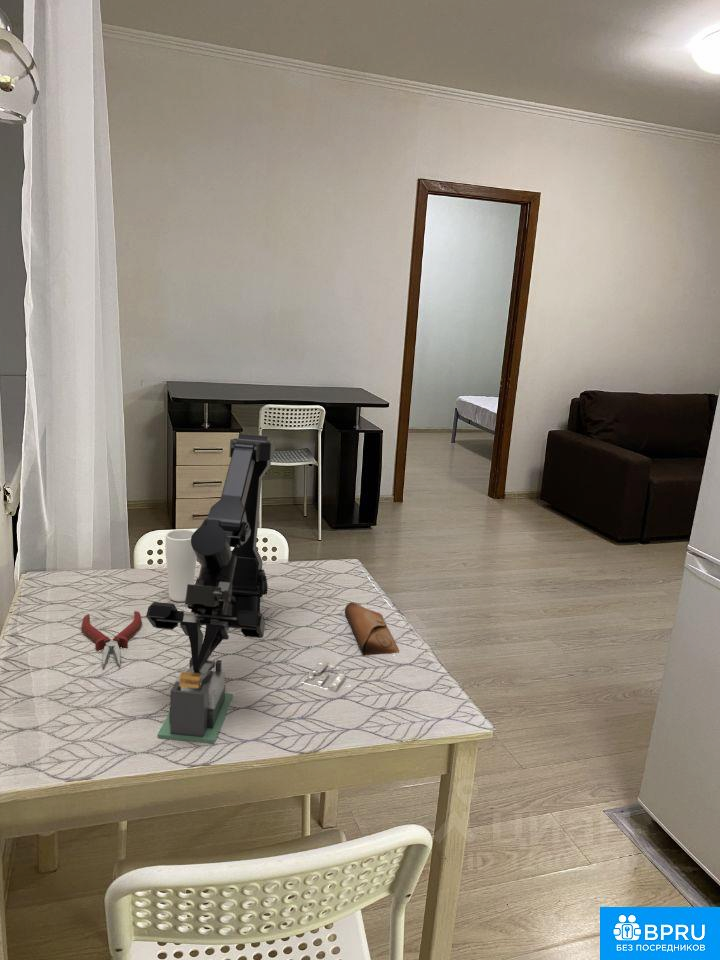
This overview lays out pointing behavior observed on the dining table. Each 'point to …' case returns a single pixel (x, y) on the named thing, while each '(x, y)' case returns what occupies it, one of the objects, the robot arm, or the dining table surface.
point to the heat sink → (210, 694)
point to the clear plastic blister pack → (335, 682)
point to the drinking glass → (180, 563)
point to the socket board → (192, 714)
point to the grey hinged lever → (196, 675)
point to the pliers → (105, 642)
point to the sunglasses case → (370, 630)
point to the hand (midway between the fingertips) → (196, 671)
